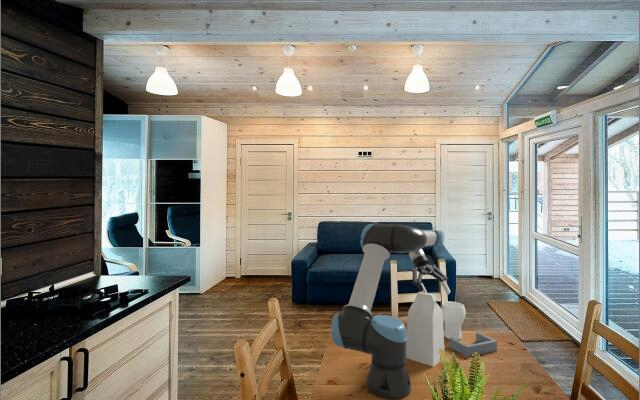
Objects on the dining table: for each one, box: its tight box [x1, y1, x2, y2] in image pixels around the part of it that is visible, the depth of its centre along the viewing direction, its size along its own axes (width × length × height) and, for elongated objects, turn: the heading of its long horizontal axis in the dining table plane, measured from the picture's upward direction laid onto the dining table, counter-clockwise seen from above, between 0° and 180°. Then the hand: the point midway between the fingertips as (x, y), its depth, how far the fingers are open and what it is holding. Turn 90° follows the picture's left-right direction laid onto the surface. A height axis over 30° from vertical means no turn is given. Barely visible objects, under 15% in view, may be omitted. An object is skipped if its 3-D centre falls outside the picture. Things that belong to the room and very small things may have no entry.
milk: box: [406, 291, 445, 367], centre depth 147 cm, size 12×12×26 cm
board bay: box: [448, 331, 498, 358], centre depth 155 cm, size 16×10×4 cm, turn 111°
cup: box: [440, 301, 466, 341], centre depth 168 cm, size 11×11×15 cm
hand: (437, 294), depth 177 cm, fingers open, 13 cm apart
